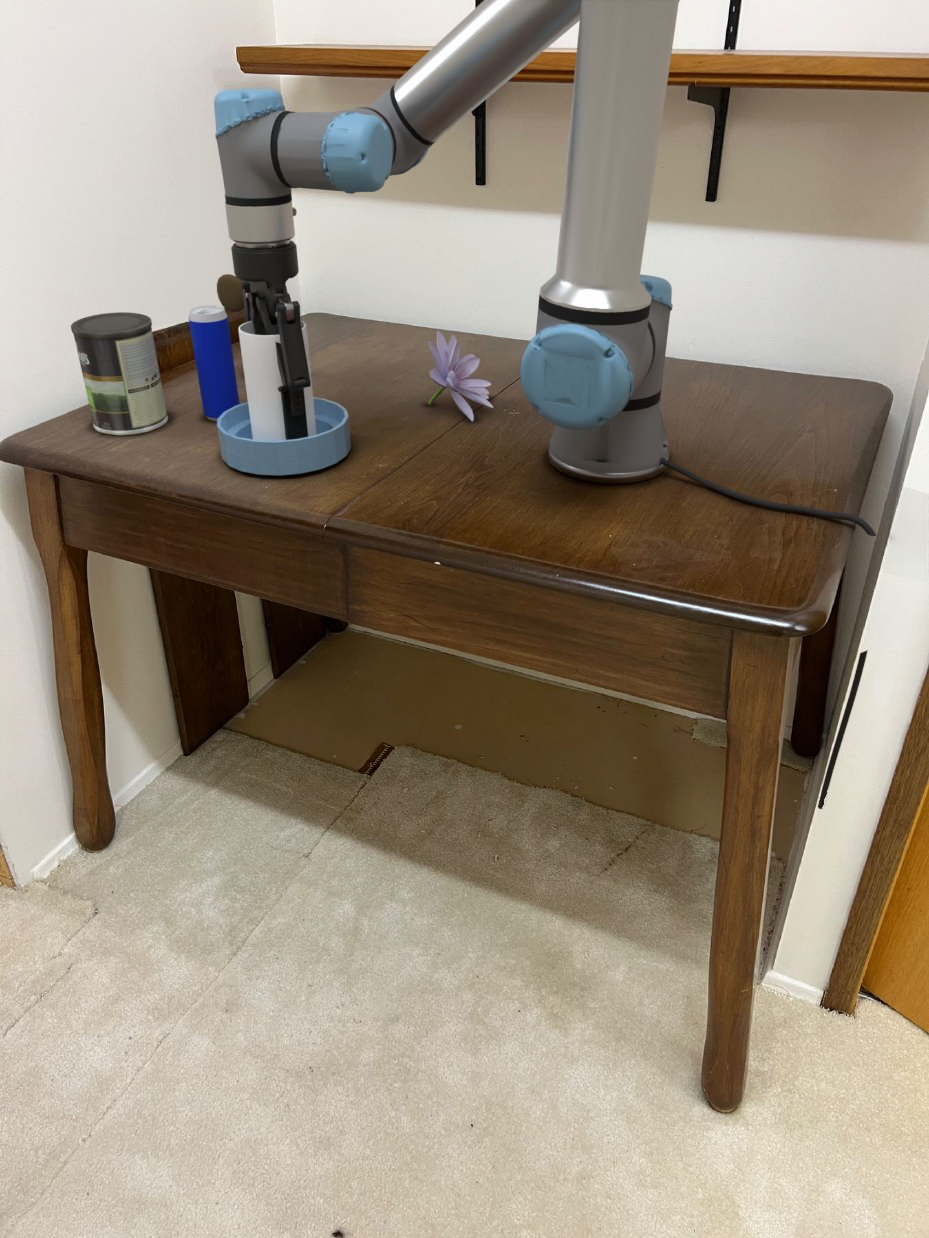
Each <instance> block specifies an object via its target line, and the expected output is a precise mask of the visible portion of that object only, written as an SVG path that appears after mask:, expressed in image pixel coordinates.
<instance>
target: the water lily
mask: <svg viewBox="0 0 929 1238" xmlns="http://www.w3.org/2000/svg"><path fill="white" fill-rule="evenodd" d="M427 342H428V348H429V351H430V355H431V358H432V360H433V362H434V365H435V366H436V368H437V369H436V368H431V369H430V370H429V372H428V373H429V378H430V379H431V380H432V381H433V382H434V383H435V384H436V385H438V386H440V388H439V389H437V390H436V392H435V393H434V394H433V395H432V397H431V398H430V399H429V400H428V401H427V404H428V405H429V406H432V405H433V404H434V402H435V401H436V400H437V398H438V397H439V396H440V395H441V394H442V393H443V391H445V389H446V388H449V392H450V395H451V397H452V399H453V401H454V404H455V405H456V406H457V407H458V409H459V410H460V411H461V413H463V414H464V416H466V418H467V419H469V420H470V421H471V422H474V420H475V416H474V412H473V409H472V407H471V406H470V405H469V403H468V402H467V401H466V400H465V399H464V397H466V398H467V399H469V400H470V401H472V402H474V403H476V404H478V405H482V406H484V407H486V408H491V409H494V406H493V405H492V403H491V402H490V401H489V396H488V395H490V392H489V390H487V389H486V387H490V386H492V383H491V381H488V380H485V379H481V378H472V376H471V375H472V374H473V373H474V372H476V370H477V369H478V367H479V365H480V358H479V357H477V356H476V355H475V354H473V353H467V354H465V355H463V356H462V357H461V358H460V356H461V355H460V354H461V346H460V343H459V341H458V340H457V338H456V335H454V334H452V335H451V336H450V339H449V341H448V343H447V340H446V338H445V337H444V335H443V333H442V332H441V331H440V330H439V329H437V331H436V345H435V343H433V342H432V341H430V340H428V341H427ZM463 396H464V397H463Z"/></svg>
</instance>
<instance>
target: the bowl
mask: <svg viewBox="0 0 929 1238" xmlns="http://www.w3.org/2000/svg"><path fill="white" fill-rule="evenodd" d="M313 400H314V411H315V421H316V432H317V435H314V436H309V437H304V438H299V439H292V440H279V441H269V440H253V436H252V429H251V421H250V414H249V406H248V401H246V402H242V403H240V404H239V405H236V406H234V407H232V408H230V409H228V410H227V411H225V412H223V413H222V415H221V416H220V417H219V418H218V419H217V421H216V429H217V436H218V440H219V441H218V442H219V448H220V456H221V459H222V460H223V461H224V463H225V464H226V465H227V466H228V467H230V468H233V469H235V470H237V471H239V472H243V473H248V474H253V475H259V476H289V475H290V476H291V475H301V474H305V473H312V472H315V471H319V470H322V469H323V470H324V469H326V468H327V467H330V466H333V465H335V464H337V463H339V462H340V461H341V460H343V459H344V458H346V457H347V456H348V454H349V452H350V450H351V449H352V443H351V430H350V418H349V412H348V410H347V408H345V407H344V406H343V405H342V404H340V403H338V402H336V401H332V400H330V399H326V398H322V397H317V396H313Z"/></svg>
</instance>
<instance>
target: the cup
mask: <svg viewBox="0 0 929 1238" xmlns="http://www.w3.org/2000/svg"><path fill="white" fill-rule="evenodd" d="M301 328H302V334H303V340H304V346H305V352H306V358H307V364H308V370H309V376H310V381H311V386H310V387H306V388H304V397H305V408H306V418H307V428H308V437H309V436H314V435H317V432H316V421H315V411H314V400H313V397H314V391H313V381H312V380H313V379H312V370H311V359H310V348H309V337H308V328H307V323H306V322H305V321H303V320H301ZM238 338H239V346H240V351H241V360H242V361H241V362H242V367H243V368H242V369H243V376H244V384H245V390H246V391H245V392H246V398H247V402H248V406H249V414H250V421H251V429H252V436H253V440H269V441H279V440H286V435H285V426H284V417H283V408H282V399H281V392H279V391H278V387H280V386H283V383H282V379H281V375H280V371H279V367H278V361H277V352H276V343H275V342H278V343H281V341H280V335H255V330H254V324H253V322H252V321H248V322H246V323H245V322H243V323H242V324H240V325H239V326H238ZM295 379H297V378H295Z"/></svg>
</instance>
